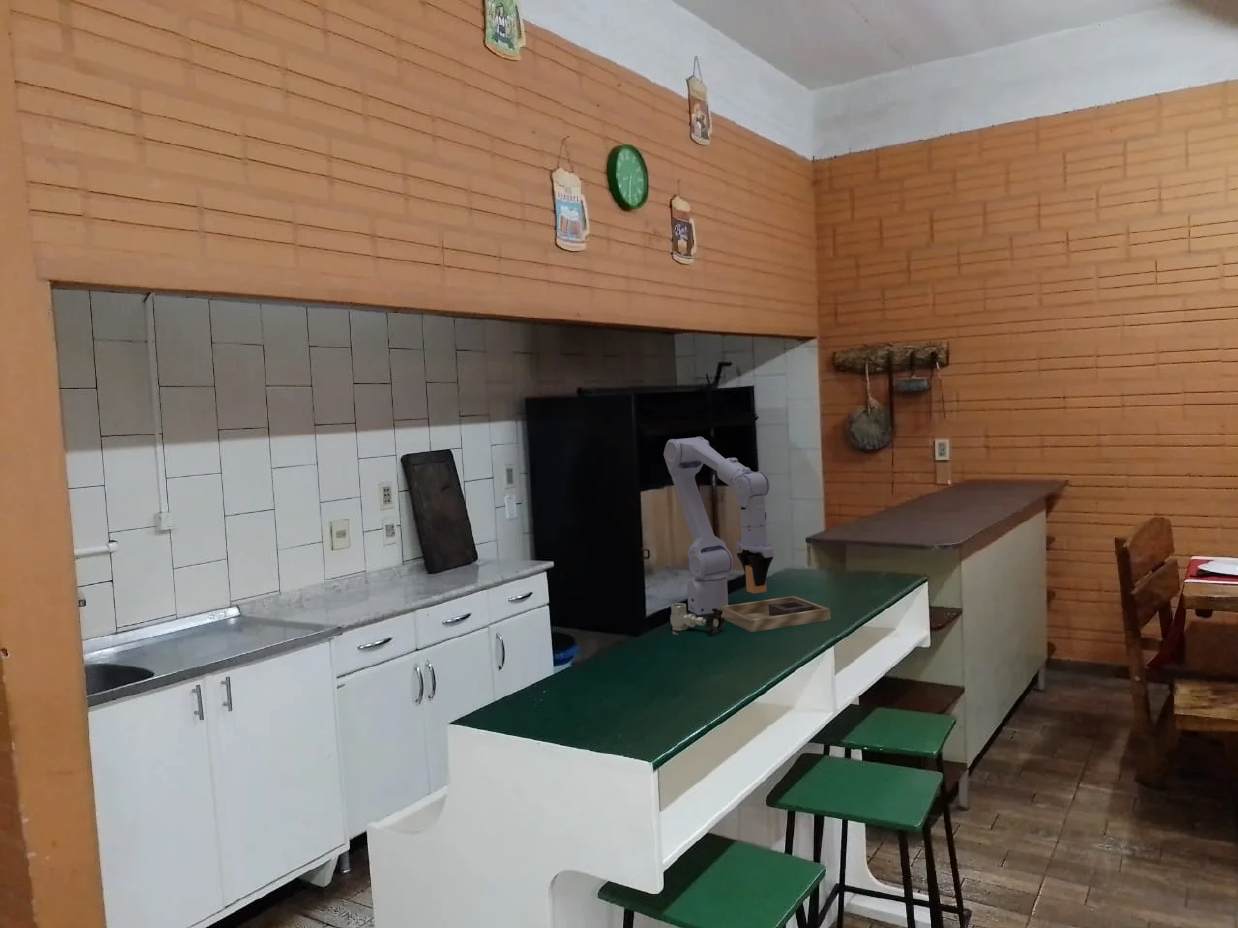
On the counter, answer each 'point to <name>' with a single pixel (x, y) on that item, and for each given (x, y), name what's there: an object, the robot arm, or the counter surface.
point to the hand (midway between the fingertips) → (756, 583)
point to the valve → (694, 619)
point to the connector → (751, 584)
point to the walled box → (774, 613)
